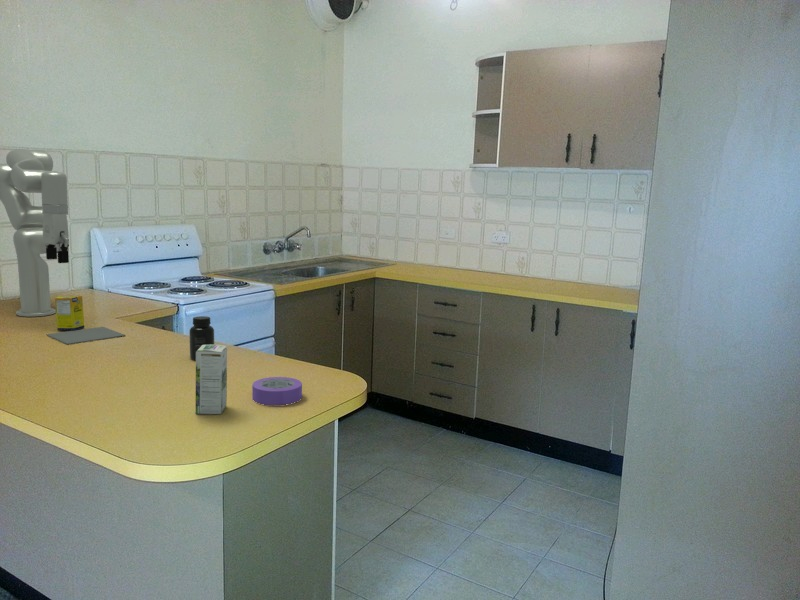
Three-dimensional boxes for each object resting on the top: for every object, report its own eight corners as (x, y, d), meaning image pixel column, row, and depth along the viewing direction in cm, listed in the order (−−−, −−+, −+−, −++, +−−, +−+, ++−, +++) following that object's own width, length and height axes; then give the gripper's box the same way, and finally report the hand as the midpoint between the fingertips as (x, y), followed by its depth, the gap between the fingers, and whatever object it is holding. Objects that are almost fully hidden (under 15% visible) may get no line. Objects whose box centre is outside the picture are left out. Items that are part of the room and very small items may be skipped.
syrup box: (201, 405, 142) (200, 343, 139) (227, 406, 142) (227, 344, 140) (195, 414, 136) (194, 350, 134) (222, 414, 137) (222, 350, 134)
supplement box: (84, 327, 210) (82, 295, 209) (74, 330, 204) (71, 297, 203) (68, 327, 211) (65, 295, 209) (56, 330, 205) (54, 297, 204)
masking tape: (256, 390, 155) (256, 375, 154) (303, 391, 156) (303, 376, 155) (248, 406, 143) (248, 390, 143) (299, 407, 144) (299, 391, 144)
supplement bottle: (219, 357, 182) (219, 317, 180) (203, 362, 176) (202, 321, 174) (201, 353, 185) (200, 314, 183) (184, 358, 179) (183, 318, 177)
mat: (46, 335, 199) (46, 334, 199) (103, 327, 212) (103, 326, 212) (67, 344, 189) (67, 343, 188) (125, 336, 202) (125, 334, 202)
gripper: (33, 207, 209) (35, 258, 212) (53, 211, 198) (55, 265, 201) (57, 208, 214) (59, 257, 218) (78, 211, 203) (80, 263, 207)
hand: (57, 261), depth 209 cm, fingers open, 9 cm apart
